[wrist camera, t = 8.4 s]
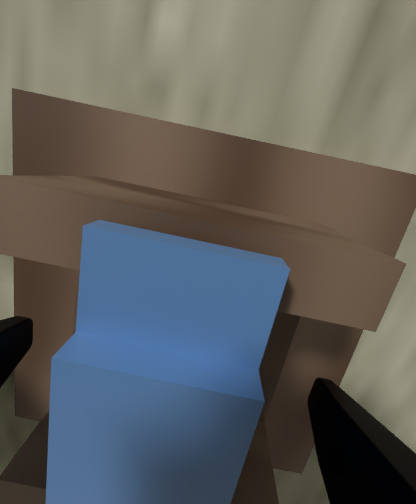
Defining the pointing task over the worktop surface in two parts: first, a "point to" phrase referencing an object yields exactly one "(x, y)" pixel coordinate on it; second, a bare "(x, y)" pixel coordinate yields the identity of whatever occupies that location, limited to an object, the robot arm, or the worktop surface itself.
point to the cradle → (202, 229)
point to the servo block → (159, 369)
